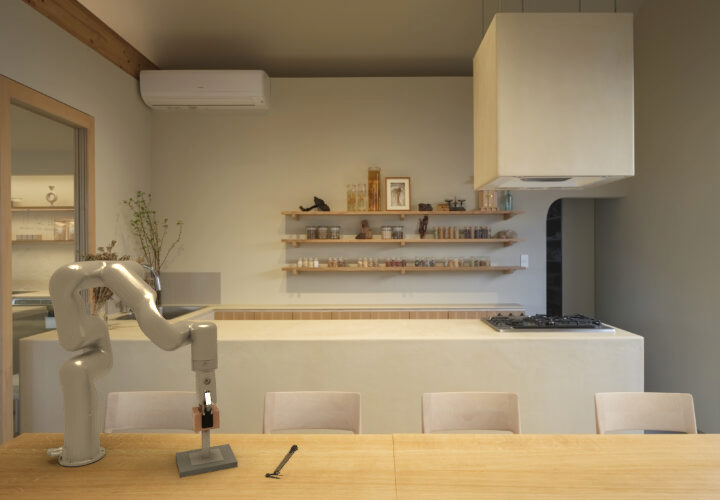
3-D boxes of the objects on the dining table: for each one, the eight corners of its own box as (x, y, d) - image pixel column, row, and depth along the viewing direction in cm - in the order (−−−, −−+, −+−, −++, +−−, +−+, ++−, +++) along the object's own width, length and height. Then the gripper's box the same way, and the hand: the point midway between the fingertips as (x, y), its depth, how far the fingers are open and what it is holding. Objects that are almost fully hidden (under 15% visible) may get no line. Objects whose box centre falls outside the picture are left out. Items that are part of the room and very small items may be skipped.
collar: (194, 432, 148) (194, 414, 148) (192, 423, 154) (191, 407, 154) (219, 428, 151) (219, 411, 151) (215, 420, 157) (215, 404, 157)
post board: (180, 477, 143) (179, 444, 143) (175, 457, 156) (175, 427, 156) (237, 466, 150) (237, 434, 150) (229, 448, 163) (228, 418, 162)
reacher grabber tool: (286, 483, 142) (286, 479, 142) (264, 479, 143) (264, 475, 143) (311, 451, 162) (312, 447, 162) (292, 447, 164) (292, 443, 164)
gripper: (222, 369, 146) (223, 431, 146) (213, 356, 162) (214, 412, 162) (194, 372, 143) (196, 435, 143) (188, 359, 158) (189, 415, 159)
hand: (205, 422), depth 153 cm, fingers closed on collar, 7 cm apart
